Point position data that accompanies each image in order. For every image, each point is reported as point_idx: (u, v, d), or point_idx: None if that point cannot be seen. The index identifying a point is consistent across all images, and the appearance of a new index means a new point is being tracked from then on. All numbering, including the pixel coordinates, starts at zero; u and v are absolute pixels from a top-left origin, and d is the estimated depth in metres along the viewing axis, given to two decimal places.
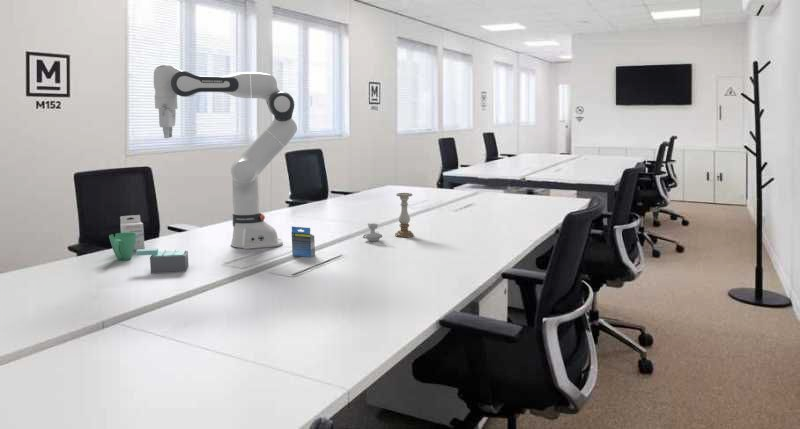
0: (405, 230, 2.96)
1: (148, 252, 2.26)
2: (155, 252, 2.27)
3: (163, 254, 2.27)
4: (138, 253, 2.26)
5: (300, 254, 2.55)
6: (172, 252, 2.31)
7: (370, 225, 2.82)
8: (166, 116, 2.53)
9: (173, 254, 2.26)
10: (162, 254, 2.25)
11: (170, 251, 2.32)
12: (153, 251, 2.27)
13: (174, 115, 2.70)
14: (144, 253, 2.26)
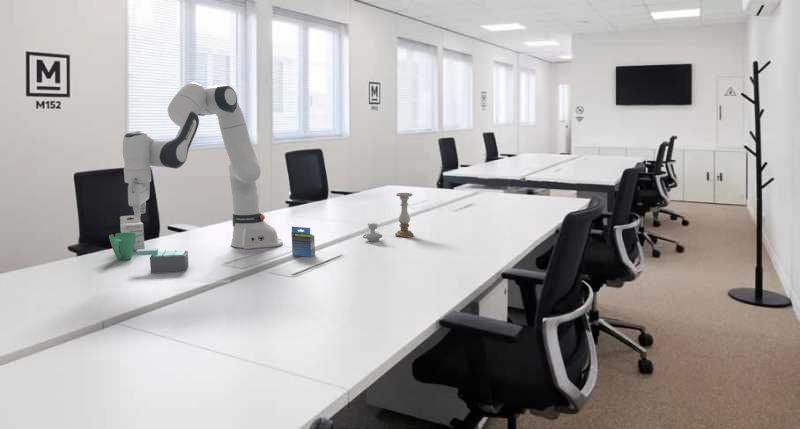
0: (405, 230, 2.96)
1: (148, 252, 2.26)
2: (155, 252, 2.27)
3: (163, 254, 2.27)
4: (138, 253, 2.26)
5: (300, 254, 2.55)
6: (172, 252, 2.31)
7: (370, 225, 2.82)
8: (136, 194, 2.15)
9: (173, 254, 2.26)
10: (162, 254, 2.25)
11: (170, 251, 2.32)
12: (153, 251, 2.27)
13: (148, 187, 2.32)
14: (144, 253, 2.26)
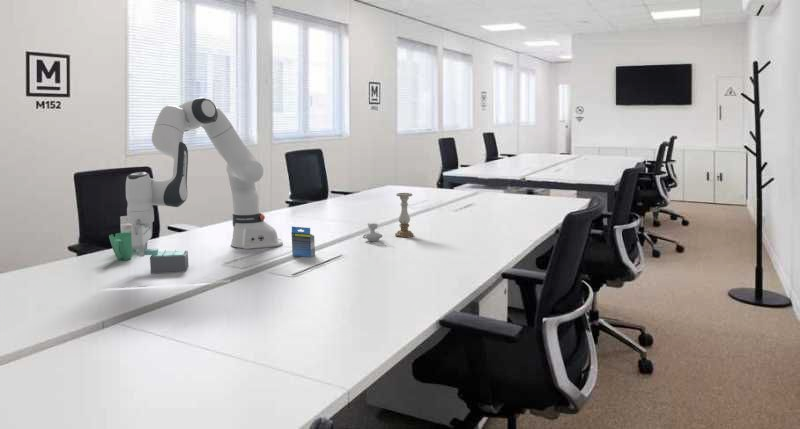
0: (405, 230, 2.96)
1: (148, 252, 2.26)
2: (155, 252, 2.27)
3: (163, 254, 2.27)
4: (138, 253, 2.26)
5: (300, 254, 2.55)
6: (172, 252, 2.31)
7: (370, 225, 2.82)
8: (140, 235, 2.17)
9: (173, 254, 2.26)
10: (162, 254, 2.25)
11: (170, 251, 2.32)
12: (153, 251, 2.27)
13: (151, 225, 2.34)
14: None
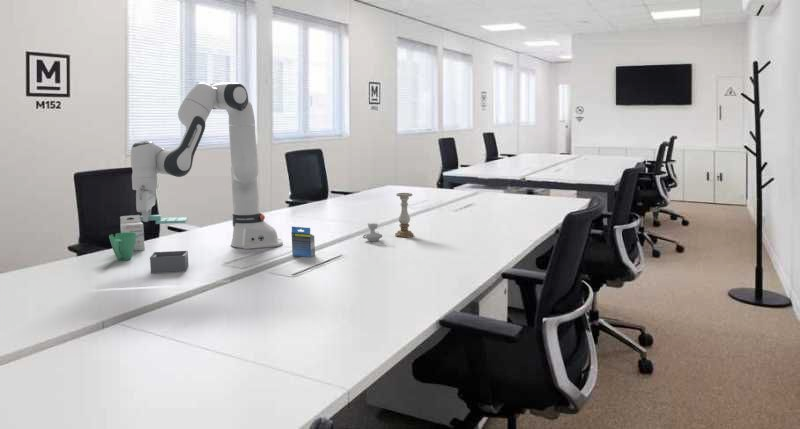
0: (405, 230, 2.96)
1: (152, 217, 2.37)
2: (158, 218, 2.37)
3: (166, 220, 2.37)
4: (142, 218, 2.36)
5: (300, 254, 2.55)
6: (174, 218, 2.41)
7: (370, 225, 2.82)
8: (144, 200, 2.27)
9: (175, 220, 2.37)
10: (165, 219, 2.36)
11: None
12: (156, 217, 2.37)
13: (154, 193, 2.44)
14: None
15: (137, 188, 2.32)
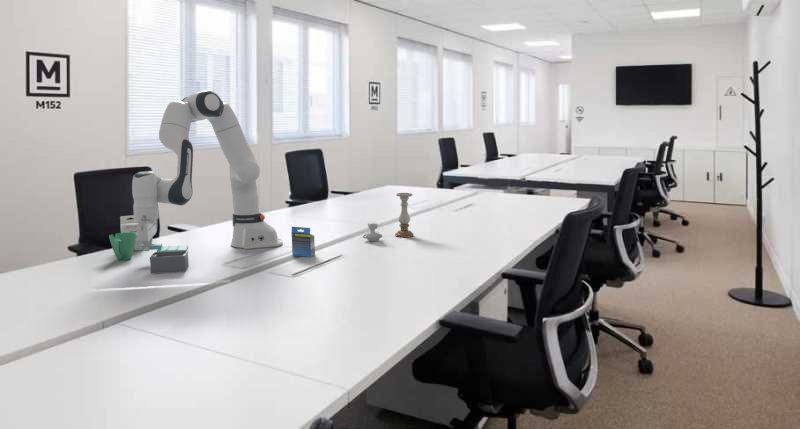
0: (405, 230, 2.96)
1: (153, 247, 2.39)
2: (159, 247, 2.39)
3: (167, 249, 2.39)
4: (143, 248, 2.38)
5: (300, 254, 2.55)
6: (175, 247, 2.43)
7: (370, 225, 2.82)
8: (145, 231, 2.29)
9: (176, 249, 2.38)
10: (166, 249, 2.38)
11: (173, 246, 2.44)
12: (157, 246, 2.39)
13: (156, 222, 2.46)
14: None
15: (138, 218, 2.34)
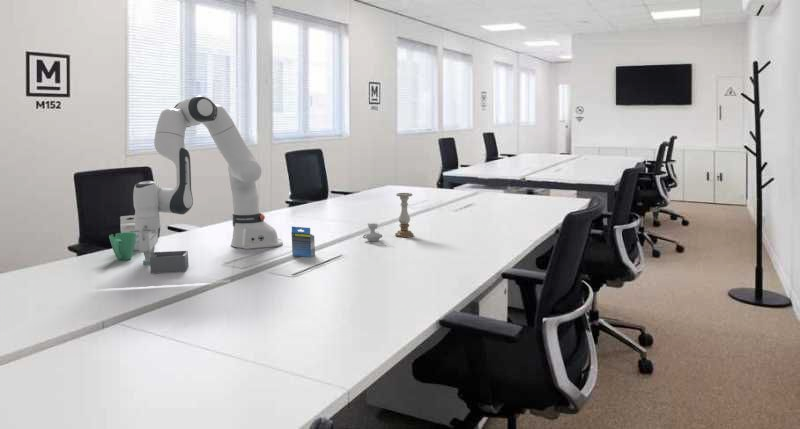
0: (405, 230, 2.96)
1: None
2: None
3: None
4: (145, 262, 2.39)
5: (300, 254, 2.55)
6: None
7: (370, 225, 2.82)
8: (147, 241, 2.30)
9: None
10: None
11: None
12: None
13: (157, 231, 2.47)
14: None
15: (140, 228, 2.34)
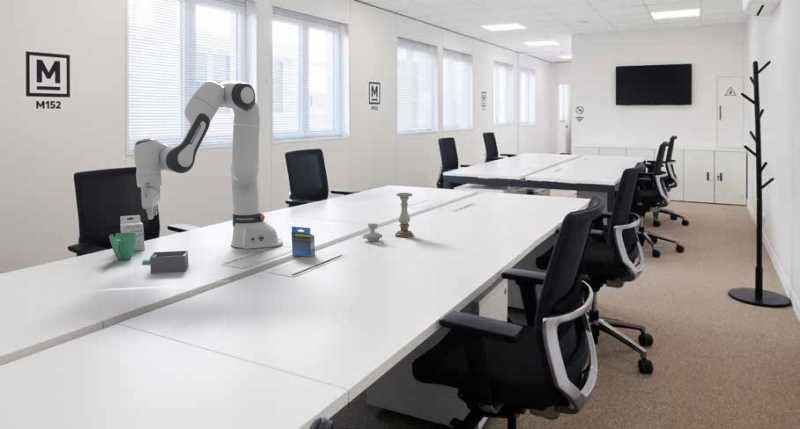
0: (405, 230, 2.96)
1: None
2: None
3: None
4: (144, 262, 2.39)
5: (300, 254, 2.55)
6: None
7: (370, 225, 2.82)
8: (149, 197, 2.30)
9: None
10: None
11: None
12: None
13: (159, 190, 2.47)
14: None
15: (142, 185, 2.34)
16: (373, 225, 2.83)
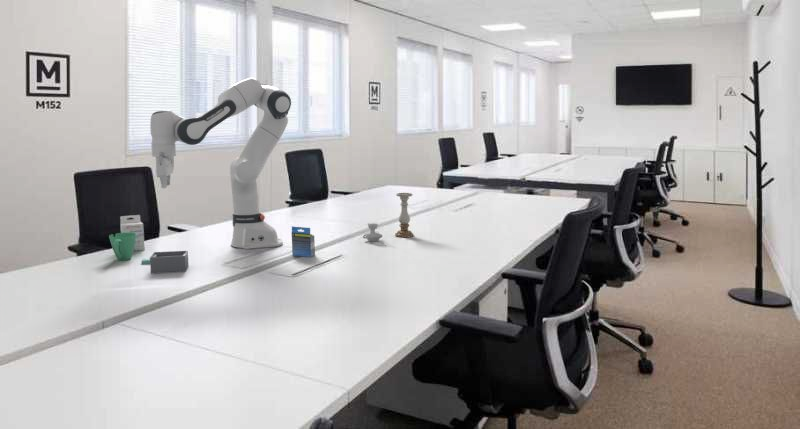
0: (405, 230, 2.96)
1: None
2: None
3: None
4: (143, 262, 2.39)
5: (300, 254, 2.55)
6: None
7: (370, 225, 2.82)
8: (164, 166, 2.37)
9: None
10: None
11: None
12: None
13: (172, 161, 2.54)
14: (149, 262, 2.40)
15: (157, 155, 2.41)
16: (373, 225, 2.83)
